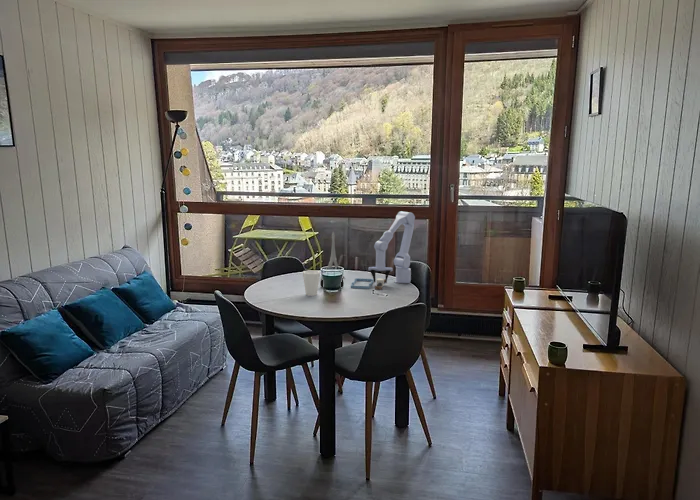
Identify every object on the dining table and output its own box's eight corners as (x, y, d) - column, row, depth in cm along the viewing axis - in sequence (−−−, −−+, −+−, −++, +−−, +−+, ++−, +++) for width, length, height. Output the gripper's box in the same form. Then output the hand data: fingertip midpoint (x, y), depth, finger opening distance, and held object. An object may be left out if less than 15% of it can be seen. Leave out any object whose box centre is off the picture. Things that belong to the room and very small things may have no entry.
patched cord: (384, 283, 310) (384, 277, 309) (382, 288, 298) (382, 281, 298) (378, 283, 311) (378, 276, 310) (375, 287, 299) (375, 281, 298)
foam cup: (317, 297, 278) (317, 274, 276) (301, 296, 280) (300, 273, 278) (321, 292, 287) (321, 270, 285) (306, 291, 289) (305, 269, 287)
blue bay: (373, 281, 315) (373, 277, 314) (369, 288, 296) (369, 285, 296) (356, 280, 317) (356, 277, 316) (350, 287, 298) (350, 284, 298)
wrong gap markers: (385, 281, 314) (385, 279, 313) (381, 289, 294) (381, 287, 294) (379, 281, 314) (379, 279, 314) (374, 289, 295) (374, 286, 295)
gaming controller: (344, 286, 302) (344, 270, 300) (343, 288, 296) (343, 272, 294) (321, 285, 303) (321, 269, 302) (319, 288, 297) (319, 271, 296)
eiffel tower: (321, 275, 332) (321, 230, 327) (341, 274, 334) (341, 230, 329) (324, 279, 319) (324, 233, 314) (345, 278, 321) (345, 232, 316)
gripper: (367, 261, 299) (367, 283, 301) (391, 262, 297) (391, 284, 299) (369, 259, 306) (369, 280, 308) (393, 260, 303) (392, 281, 306)
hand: (380, 282), depth 304 cm, fingers open, 6 cm apart
